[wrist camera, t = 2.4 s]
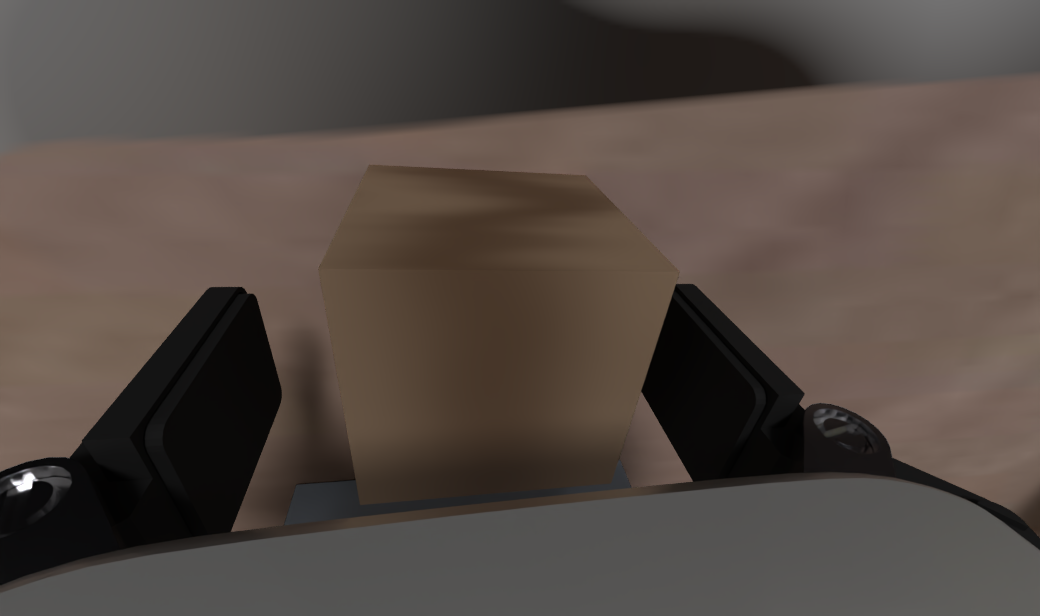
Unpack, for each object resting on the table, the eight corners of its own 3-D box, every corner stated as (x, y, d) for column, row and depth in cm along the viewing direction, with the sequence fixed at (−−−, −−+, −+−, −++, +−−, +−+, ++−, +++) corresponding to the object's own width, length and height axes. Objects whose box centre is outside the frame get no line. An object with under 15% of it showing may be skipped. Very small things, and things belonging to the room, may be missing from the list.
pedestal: (619, 460, 20) (655, 545, 17) (572, 603, 28) (591, 682, 24) (296, 484, 18) (263, 591, 14) (340, 635, 25) (326, 728, 22)
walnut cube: (585, 174, 13) (679, 271, 8) (556, 339, 16) (610, 483, 11) (369, 163, 12) (317, 269, 7) (386, 343, 15) (360, 505, 10)
